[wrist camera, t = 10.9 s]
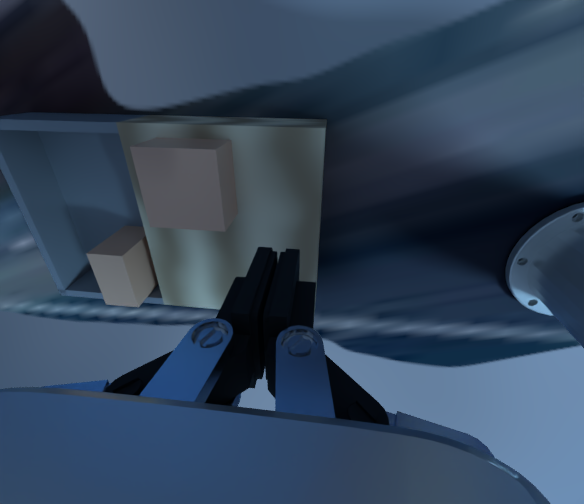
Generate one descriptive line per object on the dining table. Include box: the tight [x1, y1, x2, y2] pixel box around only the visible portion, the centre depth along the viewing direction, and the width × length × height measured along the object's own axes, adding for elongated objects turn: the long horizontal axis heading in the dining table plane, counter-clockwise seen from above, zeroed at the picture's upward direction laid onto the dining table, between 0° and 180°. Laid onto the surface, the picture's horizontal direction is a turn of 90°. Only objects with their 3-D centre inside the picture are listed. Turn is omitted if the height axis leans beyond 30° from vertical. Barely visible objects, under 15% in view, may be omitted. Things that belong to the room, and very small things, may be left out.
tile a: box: [86, 226, 158, 307], centre depth 32 cm, size 6×6×4 cm
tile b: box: [130, 137, 238, 232], centre depth 23 cm, size 6×6×4 cm
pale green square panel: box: [116, 115, 327, 311], centre depth 29 cm, size 16×18×5 cm
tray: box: [0, 112, 164, 304], centre depth 30 cm, size 12×18×5 cm, turn 0°
